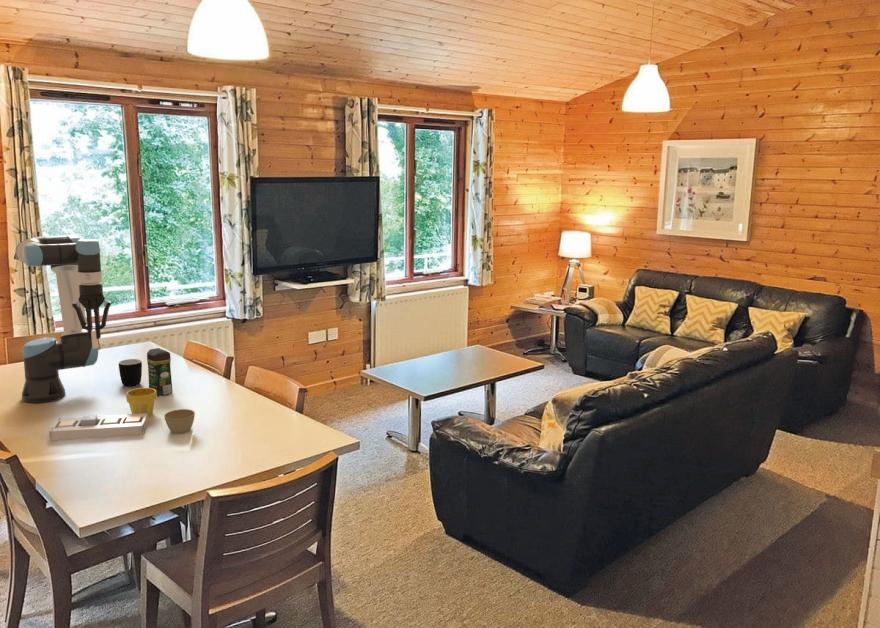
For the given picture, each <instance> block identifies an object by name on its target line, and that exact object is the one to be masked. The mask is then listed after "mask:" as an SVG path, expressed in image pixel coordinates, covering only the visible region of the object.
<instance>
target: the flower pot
mask: <svg viewBox="0 0 880 628" xmlns="http://www.w3.org/2000/svg"><path fill="white" fill-rule="evenodd" d="M195 415H196V412H195V410H192V409H186V408H185V409H184V408H183V409H182V408H181V409H174V410H171V411H170V410H169V411H168V412H166V413H165V414H164V415H163V416H164V421H165V424H166V426H167V428H168V429H169V431H170V432H171V433H172V434H176V435H181V434H182V435H183V434H185V433H188V432H190V430H191V429H192V427H193V424H194V421H195Z"/></svg>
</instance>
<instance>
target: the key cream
mask: <svg viewBox="0 0 880 628" xmlns="http://www.w3.org/2000/svg"><path fill="white" fill-rule="evenodd" d="M75 426H76V420H75V421H61V423H60V424H59V425H58V428H60V427H75Z"/></svg>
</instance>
